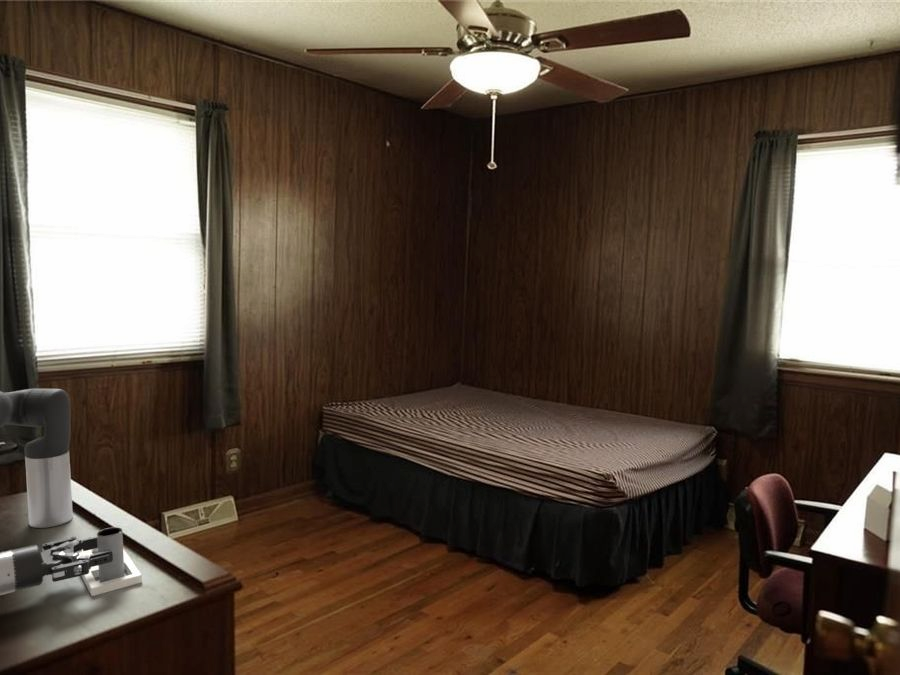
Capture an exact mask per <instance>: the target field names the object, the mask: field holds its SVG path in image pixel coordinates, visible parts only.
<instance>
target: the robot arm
mask: <svg viewBox="0 0 900 675" xmlns="http://www.w3.org/2000/svg"><path fill="white" fill-rule="evenodd" d="M71 408H72V407H71V400H70V396H69V394H68V393H67V391H65V389H61V388H28V389H27V388H26V389H21V390H16V391H10V392H8V391H7V392H3V391H1V390H0V428H2V427H3V426H5V425H9V426H10V425H11V426H13V425H14V426H22V427H34V428H35V427H38V428H39V427H43V428H44V435H43V436H42V437H39V438H37V439H33V440H31V441H29V442H27V443H26V444H25V446H24V461H25V475H26V476H25V477H26V493H27V507H28V508H27V509H28V525H29V526H30V527H31V528H36V529H45V528H46V529H47V528H51V527H56V526H61V525H64V524H66V523H68V522H70V521H71V520H72V519H73V516H74V514H73V496H72V480H71V479H72V478H71V477H72V476H71V462H70V460H71V459H70V441H71V428H72V427H71V418H72V416H71V411H72V410H71ZM95 548H98V547H97V536H93V537H91V538H90V537H88V538H84V539H82V538H77V536H71V537H65V538H63V539H62V538H61V539H58V540H53V541H49V542H45V543H43V544H42V548H41V549H40V547H39V545H37V544H32V545H29V546H28V545H27V546H23V547H18V548H15V549H8V550H7V551H1V552H0V596H2V595H6V594H11V593H15V592H19V591H22V590H26V589H29V588H33V587H34V588H35V587H37V586H38V587H39V586H40V585H42V584H43V582H44V577H45V576H50V575H51V581H52V582H53V583H54V582H55V583H56V582H60V581H65V580H68V579H73V578H76V577H82V575H86V574H88V573H89V569H91V567H94V566H98V565H101V564H105V563H109V562H112V560H113V553H112V551H111V550H108V551H104V552H100V553H96V554H92V555H79V554H78V553H80V552H81V551H82V549H83V551H87V550H91V549H95ZM41 550H42V551H41ZM79 560H82V561H79ZM79 570H82V571H79Z"/></svg>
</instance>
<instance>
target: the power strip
mask: <svg viewBox="0 0 900 675" xmlns="http://www.w3.org/2000/svg"><path fill="white" fill-rule="evenodd" d="M89 538H92V537H89ZM96 553H98V548H95V549H91V550H87V551H83V549H82V551H81V552H80V553H78V554H79V555H92V554H96ZM123 555H124V571H126V573H127V574H128V575H124V577H120V578H117V579H113V580H109V581H105V582H102V583H100V582H97V580H96V578H99V566H94V567H91V569H89V573H88V574H86V575H82V576H81V577H82V580H83V582H84V584H85V586H86V588H87V589H88V590H87V591H88V592H89V593H90V595H91V597H95V596H99V595H102V594H105V593H109V592H112V591H115V590H119V589H123V588H126V587H131V586H134V585H138V584H141V583H143V578H142V576H143V574H142V573H141V572H140V570H139V569H138V568H137V566H136V565H135V563H134V562H133V560H132V559H131V558H130V556H129V554H128V553H127V552H126V550H125V549H124V548H123ZM79 561H82V560H79ZM78 571H82V570H78Z"/></svg>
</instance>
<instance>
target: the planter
mask: <svg viewBox="0 0 900 675" xmlns="http://www.w3.org/2000/svg"><path fill="white" fill-rule="evenodd" d="M96 537H97V547H98V553H100V552H104V551H108V550H111V551H112V553H113V560H112V562H109V563H105V564H101V565H98V566H99V577H98V580H99V582H98V583H102V582H105V581H109V580H113V579H117V578H120V577H124V576H125V570H124V555H123V549H124V538H123V529H122V528H121V527H118V526H117V527H114V526H113V527H107V528H104V529H100V530H99V531H98V532H97V533H96Z"/></svg>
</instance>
